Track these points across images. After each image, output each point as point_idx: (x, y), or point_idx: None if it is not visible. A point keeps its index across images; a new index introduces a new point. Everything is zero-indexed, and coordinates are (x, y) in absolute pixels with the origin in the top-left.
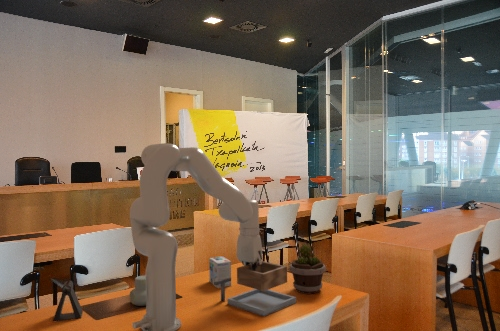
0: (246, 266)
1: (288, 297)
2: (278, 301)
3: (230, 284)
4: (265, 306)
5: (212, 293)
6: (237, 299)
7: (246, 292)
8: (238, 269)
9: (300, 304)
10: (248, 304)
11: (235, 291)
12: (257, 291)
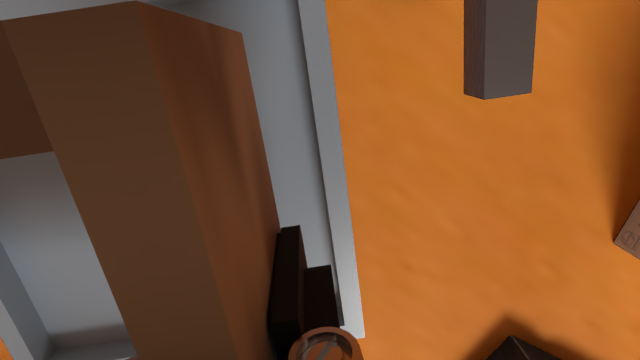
0: (142, 356)
1: (81, 357)
2: (96, 284)
3: (625, 243)
4: (46, 155)
5: (621, 22)
6: (307, 70)
7: (339, 196)
8: (72, 19)
9: (10, 355)
10: (49, 12)
11: (500, 197)
12: (338, 288)
